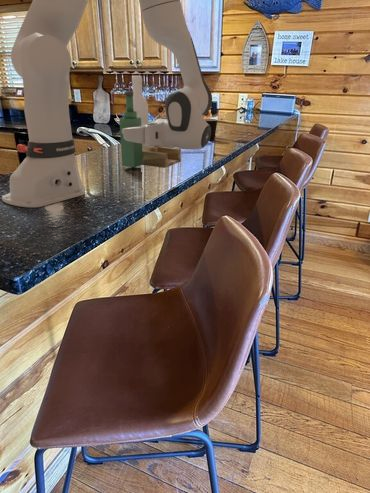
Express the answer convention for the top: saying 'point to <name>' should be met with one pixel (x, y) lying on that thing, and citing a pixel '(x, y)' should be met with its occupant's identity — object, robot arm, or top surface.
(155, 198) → the top surface
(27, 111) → the robot arm
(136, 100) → the bottle
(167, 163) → the oak rest
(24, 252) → the top surface
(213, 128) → the coffee mug
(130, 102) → the green bottle
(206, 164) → the top surface
